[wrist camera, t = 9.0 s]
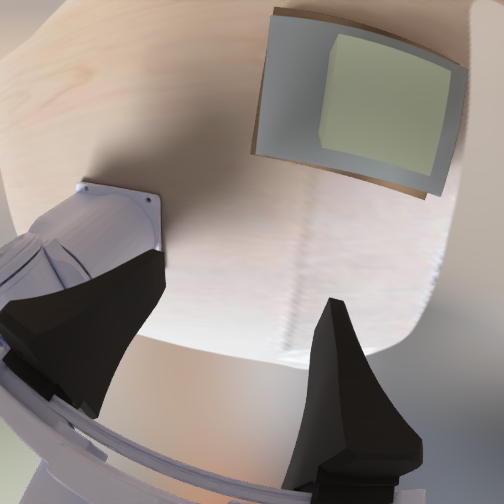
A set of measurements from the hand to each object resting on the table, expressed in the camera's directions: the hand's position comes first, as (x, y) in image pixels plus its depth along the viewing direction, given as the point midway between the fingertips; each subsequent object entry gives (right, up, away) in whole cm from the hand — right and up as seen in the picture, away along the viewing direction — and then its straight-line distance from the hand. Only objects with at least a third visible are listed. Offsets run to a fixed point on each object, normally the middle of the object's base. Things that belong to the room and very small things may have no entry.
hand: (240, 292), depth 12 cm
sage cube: (+6, +9, 0) cm, 11 cm away
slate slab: (+7, +11, +2) cm, 13 cm away
